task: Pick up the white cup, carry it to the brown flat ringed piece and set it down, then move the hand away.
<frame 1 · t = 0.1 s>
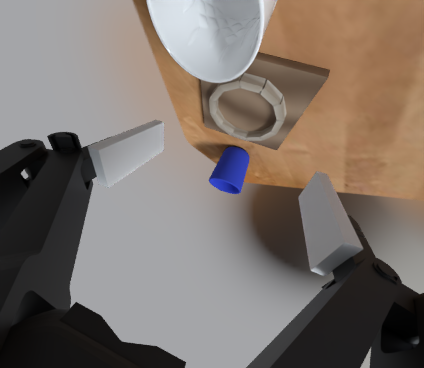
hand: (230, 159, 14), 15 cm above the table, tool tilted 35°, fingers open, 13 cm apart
mug: (236, 155, 44), on the table
brown flat ringed piece: (248, 104, 27), on the table
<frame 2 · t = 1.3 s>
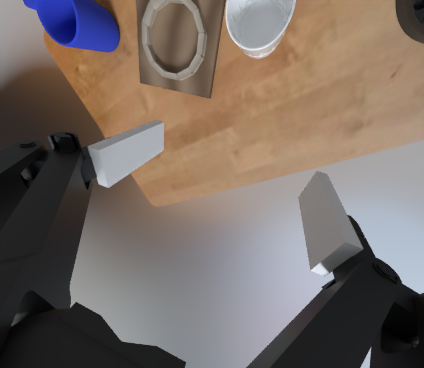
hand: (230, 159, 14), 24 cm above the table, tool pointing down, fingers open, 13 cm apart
white cup: (261, 34, 27), on the table
mug: (101, 29, 34), on the table
brown flat ringed piece: (178, 42, 31), on the table
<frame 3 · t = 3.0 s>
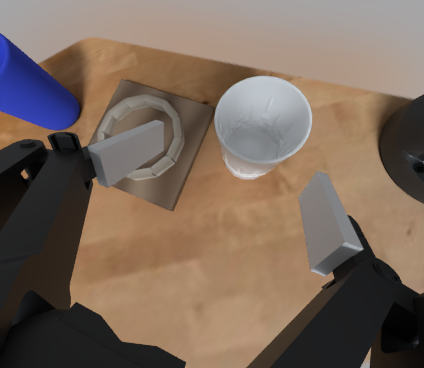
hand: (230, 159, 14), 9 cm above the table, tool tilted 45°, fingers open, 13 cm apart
white cup: (247, 157, 23), on the table
mug: (57, 110, 28), on the table
brown flat ringed piece: (147, 142, 25), on the table
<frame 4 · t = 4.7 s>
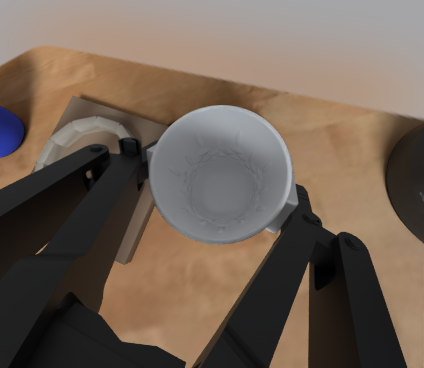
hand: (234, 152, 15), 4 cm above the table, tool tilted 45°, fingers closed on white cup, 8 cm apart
white cup: (223, 192, 19), on the table, touching gripper
mug: (0, 132, 23), on the table
brown flat ringed piece: (103, 173, 21), on the table
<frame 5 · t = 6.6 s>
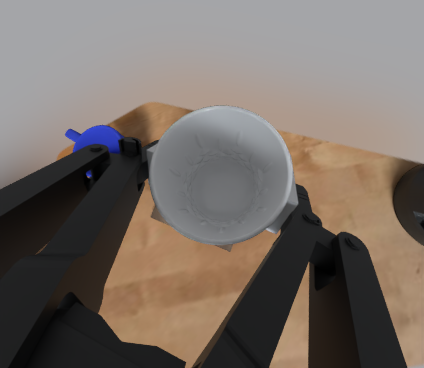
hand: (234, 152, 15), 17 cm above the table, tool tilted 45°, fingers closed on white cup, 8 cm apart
white cup: (223, 192, 19), point 12 cm above the table, touching gripper
mug: (128, 163, 35), on the table
when the fingers open (7 cm above the table, at t = 8.9 s): white cup drops 2 cm, resting on brown flat ringed piece.
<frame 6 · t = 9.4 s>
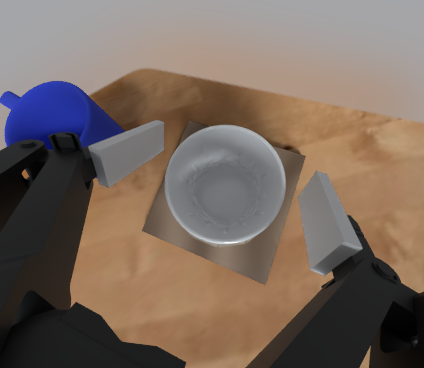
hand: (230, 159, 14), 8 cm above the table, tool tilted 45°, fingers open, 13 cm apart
white cup: (224, 195, 21), point 1 cm above the table, touching brown flat ringed piece
mug: (110, 153, 24), on the table
brown flat ringed piece: (223, 194, 22), on the table
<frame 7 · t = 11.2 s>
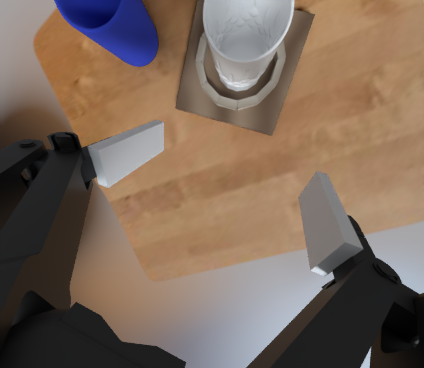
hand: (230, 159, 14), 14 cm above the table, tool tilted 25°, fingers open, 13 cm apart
white cup: (240, 67, 24), point 1 cm above the table, touching brown flat ringed piece
mug: (130, 41, 26), on the table
brown flat ringed piece: (238, 69, 25), on the table
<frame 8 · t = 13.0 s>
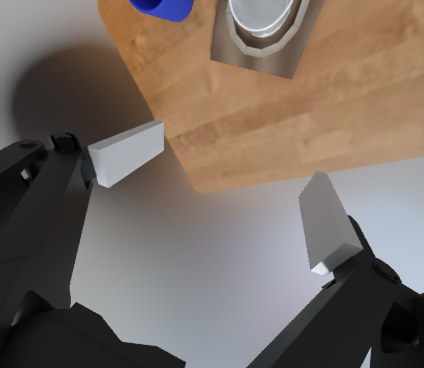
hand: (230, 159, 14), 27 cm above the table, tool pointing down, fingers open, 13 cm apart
white cup: (267, 10, 26), point 1 cm above the table, touching brown flat ringed piece
brown flat ringed piece: (266, 11, 27), on the table
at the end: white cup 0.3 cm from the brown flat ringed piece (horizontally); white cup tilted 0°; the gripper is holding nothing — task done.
